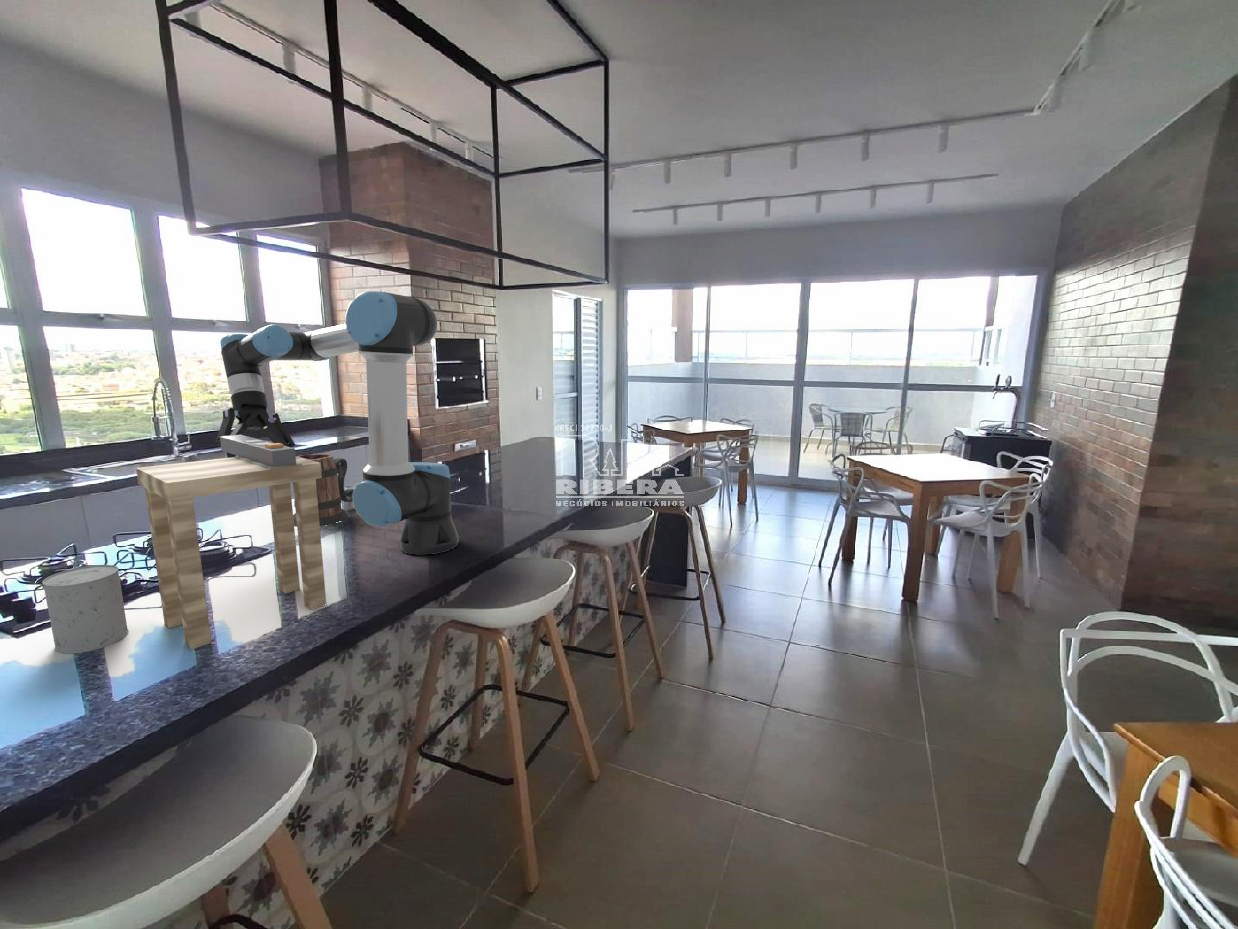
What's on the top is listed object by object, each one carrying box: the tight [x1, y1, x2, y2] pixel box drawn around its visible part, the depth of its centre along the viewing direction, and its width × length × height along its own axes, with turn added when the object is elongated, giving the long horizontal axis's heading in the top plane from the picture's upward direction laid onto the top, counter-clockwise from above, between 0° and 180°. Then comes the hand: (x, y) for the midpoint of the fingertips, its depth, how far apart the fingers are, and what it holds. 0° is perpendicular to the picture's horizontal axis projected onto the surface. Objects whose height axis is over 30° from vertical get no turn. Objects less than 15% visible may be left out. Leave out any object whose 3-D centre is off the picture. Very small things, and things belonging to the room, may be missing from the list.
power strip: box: [220, 434, 297, 467], centre depth 110 cm, size 26×4×4 cm, turn 53°
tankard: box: [293, 453, 354, 528], centre depth 173 cm, size 24×17×20 cm
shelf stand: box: [135, 455, 327, 650], centre depth 106 cm, size 18×24×30 cm
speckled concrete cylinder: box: [41, 564, 129, 655], centre depth 97 cm, size 10×10×12 cm
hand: (264, 473), depth 140 cm, fingers open, 13 cm apart
